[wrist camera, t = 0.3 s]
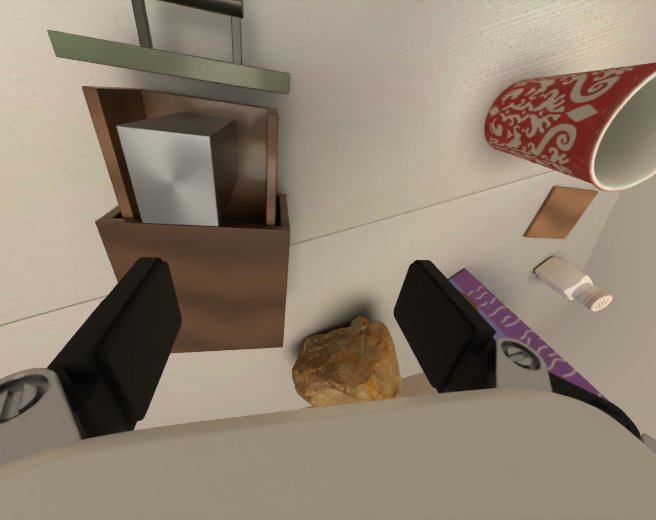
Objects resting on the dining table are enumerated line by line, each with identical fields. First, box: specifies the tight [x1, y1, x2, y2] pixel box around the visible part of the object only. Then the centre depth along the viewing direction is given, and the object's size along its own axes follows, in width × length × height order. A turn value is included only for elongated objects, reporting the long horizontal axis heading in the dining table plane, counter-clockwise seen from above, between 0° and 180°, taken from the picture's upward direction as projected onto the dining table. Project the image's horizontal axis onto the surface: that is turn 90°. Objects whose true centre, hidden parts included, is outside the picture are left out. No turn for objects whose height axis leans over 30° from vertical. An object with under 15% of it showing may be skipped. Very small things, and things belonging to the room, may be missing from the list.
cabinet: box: [95, 194, 290, 353], centre depth 29 cm, size 16×15×10 cm
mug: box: [485, 63, 656, 191], centre depth 25 cm, size 13×9×14 cm
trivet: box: [524, 186, 598, 239], centre depth 39 cm, size 8×8×1 cm
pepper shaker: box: [535, 257, 612, 311], centre depth 42 cm, size 4×4×10 cm
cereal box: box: [448, 268, 608, 401], centre depth 37 cm, size 17×5×24 cm, turn 40°
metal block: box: [116, 112, 239, 226], centre depth 20 cm, size 6×4×12 cm
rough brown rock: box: [292, 316, 404, 407], centre depth 41 cm, size 23×17×15 cm
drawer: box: [47, 0, 290, 226], centre depth 21 cm, size 19×13×8 cm
